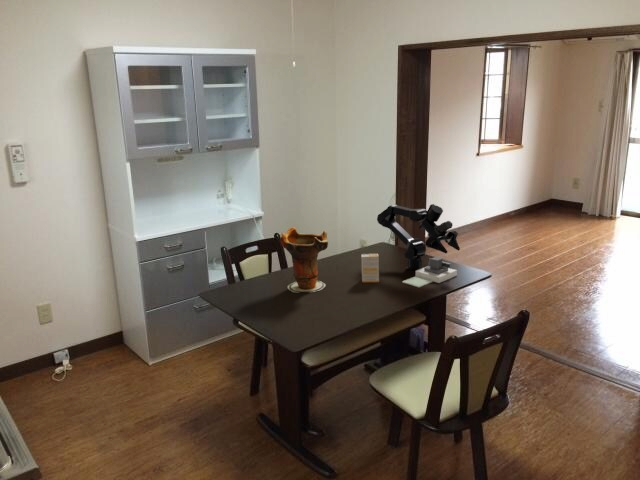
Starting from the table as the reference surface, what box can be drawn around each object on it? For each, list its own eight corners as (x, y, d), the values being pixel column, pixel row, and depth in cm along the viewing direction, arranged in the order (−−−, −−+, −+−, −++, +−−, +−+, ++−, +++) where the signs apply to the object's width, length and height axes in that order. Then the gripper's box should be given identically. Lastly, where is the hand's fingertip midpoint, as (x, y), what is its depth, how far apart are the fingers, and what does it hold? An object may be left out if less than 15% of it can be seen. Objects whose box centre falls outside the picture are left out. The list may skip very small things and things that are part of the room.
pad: (402, 283, 256) (402, 281, 256) (415, 277, 262) (415, 276, 262) (418, 288, 248) (418, 286, 248) (432, 282, 255) (432, 281, 254)
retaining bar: (427, 265, 268) (427, 258, 267) (429, 264, 269) (430, 258, 268) (449, 271, 259) (449, 264, 258) (451, 270, 260) (451, 263, 259)
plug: (424, 275, 263) (424, 258, 261) (434, 271, 268) (434, 255, 266) (437, 279, 257) (438, 262, 255) (447, 275, 262) (448, 258, 260)
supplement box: (379, 279, 262) (378, 253, 259) (379, 282, 258) (378, 256, 254) (361, 279, 263) (361, 253, 259) (361, 282, 258) (361, 256, 255)
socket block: (415, 276, 263) (415, 270, 262) (433, 269, 272) (433, 264, 271) (439, 283, 253) (439, 277, 252) (456, 276, 262) (457, 270, 261)
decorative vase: (328, 294, 244) (322, 234, 237) (279, 295, 249) (272, 236, 242) (336, 279, 263) (331, 223, 256) (290, 280, 268) (284, 225, 261)
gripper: (427, 218, 249) (449, 241, 241) (452, 214, 261) (474, 236, 253) (416, 235, 256) (437, 258, 248) (441, 231, 267) (462, 253, 259)
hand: (453, 251), depth 252 cm, fingers open, 9 cm apart
